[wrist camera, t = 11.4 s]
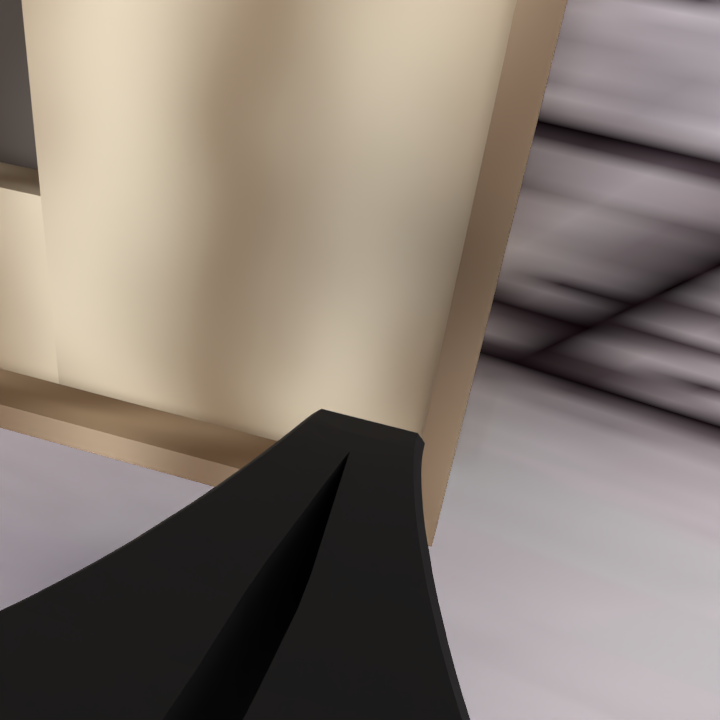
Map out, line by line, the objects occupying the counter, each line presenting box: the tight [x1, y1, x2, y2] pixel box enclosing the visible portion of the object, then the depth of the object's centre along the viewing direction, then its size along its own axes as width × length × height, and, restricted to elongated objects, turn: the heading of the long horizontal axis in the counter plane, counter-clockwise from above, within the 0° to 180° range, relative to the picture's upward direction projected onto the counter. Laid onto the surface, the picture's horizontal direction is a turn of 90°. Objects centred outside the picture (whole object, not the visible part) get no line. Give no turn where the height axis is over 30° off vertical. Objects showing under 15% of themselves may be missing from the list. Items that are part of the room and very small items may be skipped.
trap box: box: [0, 0, 567, 546], centre depth 17 cm, size 24×14×4 cm, turn 83°
